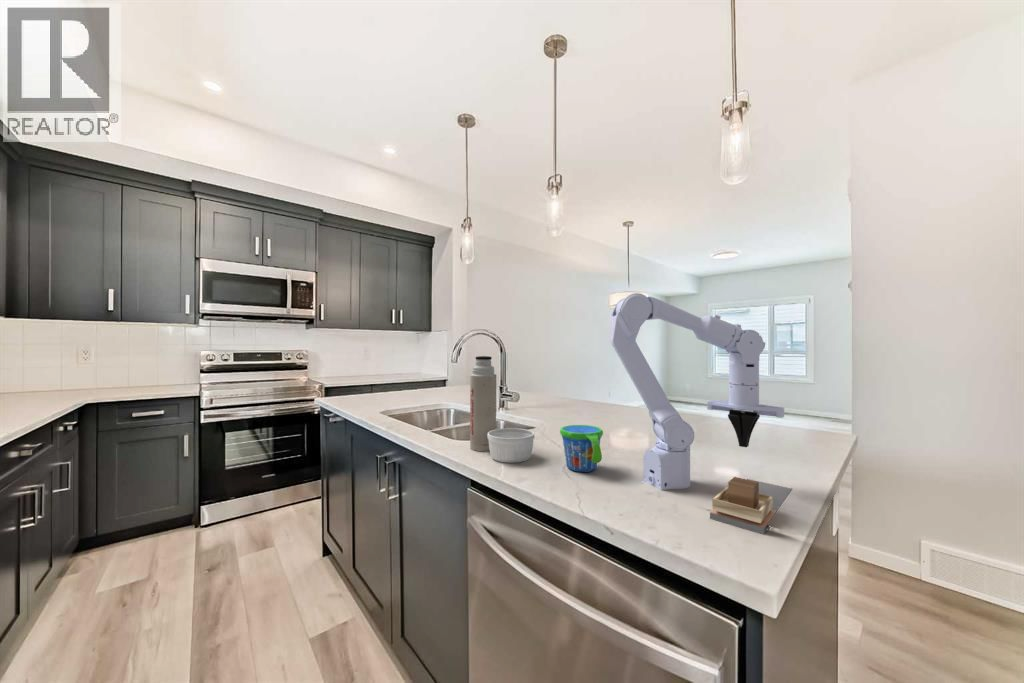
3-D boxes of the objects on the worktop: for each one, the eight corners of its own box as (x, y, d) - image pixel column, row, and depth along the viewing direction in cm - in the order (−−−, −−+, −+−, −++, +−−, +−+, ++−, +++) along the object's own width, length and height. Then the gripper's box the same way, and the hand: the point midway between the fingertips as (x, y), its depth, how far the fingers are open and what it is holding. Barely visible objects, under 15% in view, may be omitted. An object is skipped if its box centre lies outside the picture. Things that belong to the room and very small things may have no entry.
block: (753, 510, 69) (753, 487, 69) (728, 503, 72) (728, 482, 72) (758, 503, 72) (758, 482, 72) (734, 497, 75) (734, 476, 75)
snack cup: (552, 460, 107) (552, 423, 107) (588, 458, 109) (588, 421, 109) (573, 480, 91) (573, 436, 92) (614, 477, 94) (614, 434, 94)
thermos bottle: (469, 451, 116) (469, 356, 116) (470, 444, 123) (470, 355, 124) (496, 450, 116) (496, 356, 116) (495, 444, 124) (495, 355, 124)
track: (763, 534, 66) (763, 528, 66) (709, 518, 72) (709, 512, 72) (792, 493, 83) (792, 488, 83) (747, 483, 89) (747, 478, 89)
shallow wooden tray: (760, 526, 66) (760, 511, 66) (712, 512, 71) (712, 498, 71) (772, 510, 72) (772, 496, 72) (727, 498, 78) (727, 485, 78)
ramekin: (512, 448, 119) (512, 425, 119) (544, 457, 110) (544, 433, 110) (478, 457, 110) (478, 432, 110) (509, 468, 101) (509, 441, 101)
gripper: (787, 385, 84) (787, 448, 84) (714, 380, 94) (714, 437, 94) (780, 388, 79) (780, 455, 79) (704, 382, 89) (704, 442, 89)
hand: (743, 446), depth 86 cm, fingers closed
